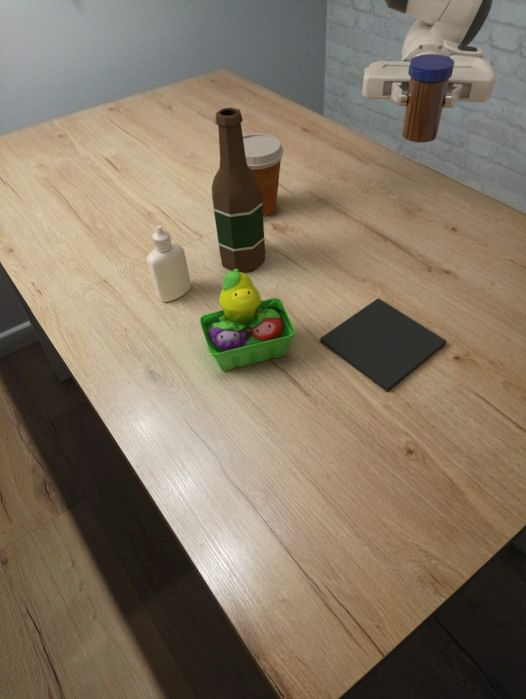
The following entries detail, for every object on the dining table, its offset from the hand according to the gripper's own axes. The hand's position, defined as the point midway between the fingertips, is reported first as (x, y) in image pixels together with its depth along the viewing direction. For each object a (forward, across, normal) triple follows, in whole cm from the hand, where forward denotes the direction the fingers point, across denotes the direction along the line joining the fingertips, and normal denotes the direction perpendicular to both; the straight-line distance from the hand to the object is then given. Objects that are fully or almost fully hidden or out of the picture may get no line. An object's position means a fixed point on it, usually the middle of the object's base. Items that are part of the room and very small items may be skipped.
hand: (425, 102), depth 79 cm
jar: (-1, 0, +6) cm, 6 cm away
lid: (-1, 0, -5) cm, 5 cm away
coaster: (+34, -2, +18) cm, 39 cm away
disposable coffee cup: (+3, -27, +19) cm, 33 cm away
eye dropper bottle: (+28, -35, +19) cm, 49 cm away
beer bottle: (+19, -26, +19) cm, 37 cm away
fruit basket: (+38, -20, +19) cm, 47 cm away
